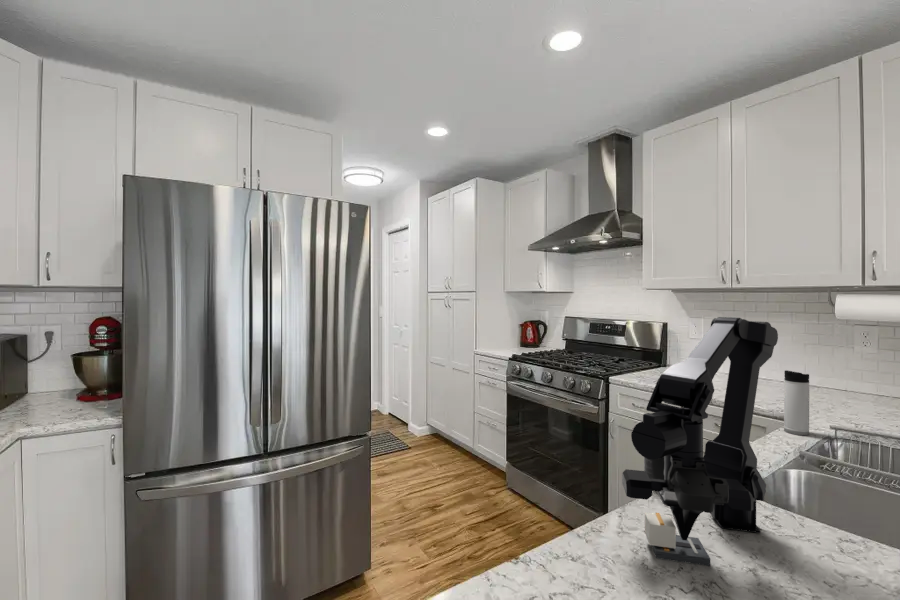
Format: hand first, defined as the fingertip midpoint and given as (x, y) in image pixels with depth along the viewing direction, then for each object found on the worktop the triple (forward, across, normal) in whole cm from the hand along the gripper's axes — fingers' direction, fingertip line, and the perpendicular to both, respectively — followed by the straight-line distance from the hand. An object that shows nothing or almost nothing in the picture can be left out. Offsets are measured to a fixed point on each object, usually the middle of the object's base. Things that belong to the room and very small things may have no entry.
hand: (683, 539), depth 71 cm
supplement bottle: (+2, +2, +27) cm, 27 cm away
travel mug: (+2, +54, +80) cm, 97 cm away
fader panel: (+2, -1, 0) cm, 2 cm away
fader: (+1, -4, 0) cm, 4 cm away
